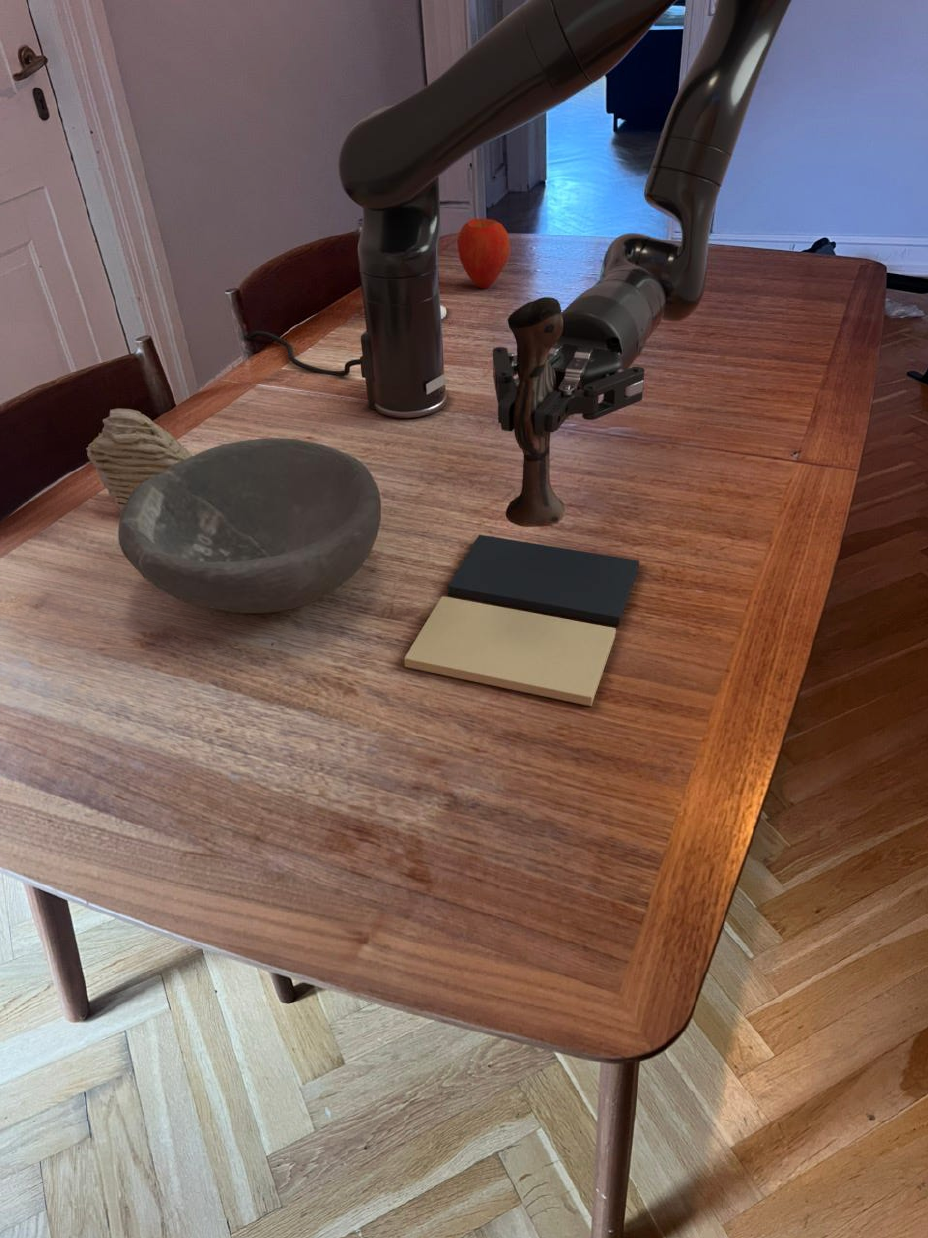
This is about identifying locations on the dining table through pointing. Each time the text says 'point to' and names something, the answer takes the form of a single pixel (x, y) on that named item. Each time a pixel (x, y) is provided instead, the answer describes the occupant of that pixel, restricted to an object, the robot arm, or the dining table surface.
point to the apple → (483, 250)
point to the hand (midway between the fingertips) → (522, 422)
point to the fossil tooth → (132, 452)
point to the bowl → (253, 525)
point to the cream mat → (513, 649)
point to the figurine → (537, 379)
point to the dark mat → (546, 579)
